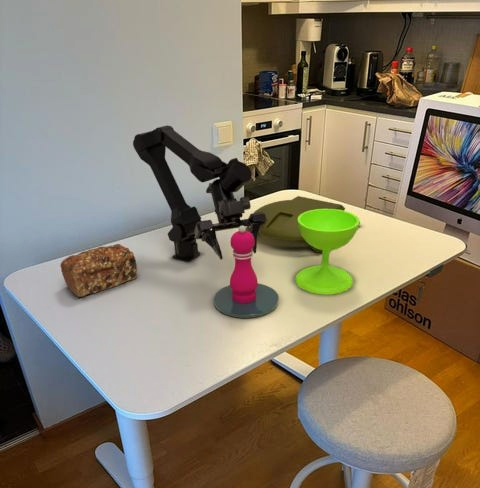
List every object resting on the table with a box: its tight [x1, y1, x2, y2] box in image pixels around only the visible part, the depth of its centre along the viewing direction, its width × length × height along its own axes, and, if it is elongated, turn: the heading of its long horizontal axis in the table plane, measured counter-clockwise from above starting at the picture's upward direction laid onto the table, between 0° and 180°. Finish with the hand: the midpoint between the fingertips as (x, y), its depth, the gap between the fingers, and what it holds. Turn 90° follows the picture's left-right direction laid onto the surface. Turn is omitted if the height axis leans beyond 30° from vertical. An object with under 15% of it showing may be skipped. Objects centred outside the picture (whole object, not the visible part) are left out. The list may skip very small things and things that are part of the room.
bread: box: [59, 243, 138, 298], centre depth 139 cm, size 19×11×10 cm, turn 127°
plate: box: [213, 282, 280, 319], centre depth 130 cm, size 17×17×1 cm
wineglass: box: [295, 209, 360, 296], centre depth 134 cm, size 16×16×18 cm
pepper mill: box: [229, 226, 259, 303], centre depth 124 cm, size 7×7×20 cm
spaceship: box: [245, 195, 361, 253], centre depth 165 cm, size 35×31×10 cm
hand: (238, 255), depth 128 cm, fingers open, 9 cm apart
